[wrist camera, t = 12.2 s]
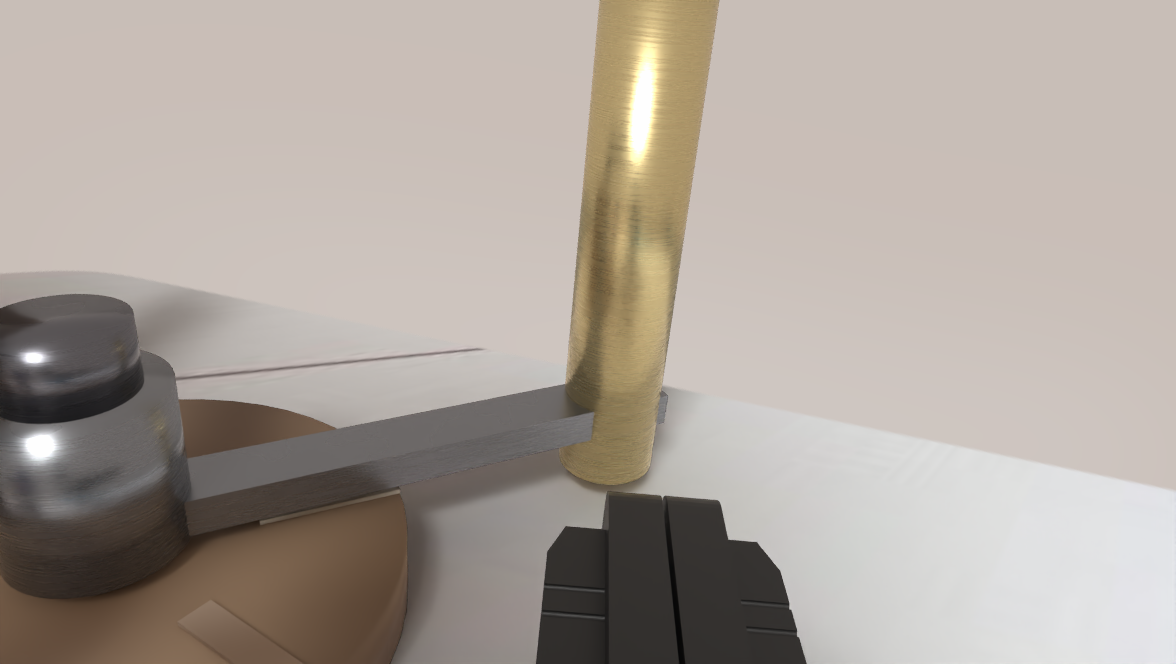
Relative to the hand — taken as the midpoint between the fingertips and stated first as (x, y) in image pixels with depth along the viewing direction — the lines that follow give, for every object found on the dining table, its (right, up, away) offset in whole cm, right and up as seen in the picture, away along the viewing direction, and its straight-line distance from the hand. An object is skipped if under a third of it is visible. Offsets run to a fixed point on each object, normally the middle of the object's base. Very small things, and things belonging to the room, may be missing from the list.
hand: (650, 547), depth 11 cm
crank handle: (-7, -2, +12) cm, 14 cm away
